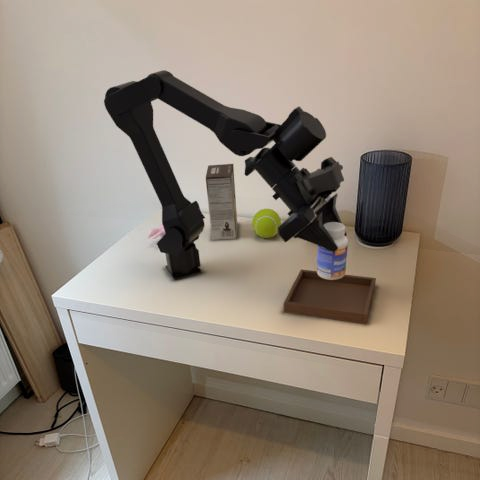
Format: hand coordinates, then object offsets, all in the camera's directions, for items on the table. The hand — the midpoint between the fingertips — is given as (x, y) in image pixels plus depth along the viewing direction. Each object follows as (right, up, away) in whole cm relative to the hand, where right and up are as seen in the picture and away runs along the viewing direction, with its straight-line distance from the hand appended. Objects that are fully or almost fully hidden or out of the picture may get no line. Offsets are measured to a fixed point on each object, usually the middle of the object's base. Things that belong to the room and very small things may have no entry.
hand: (340, 243), depth 88 cm
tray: (0, -10, +7) cm, 12 cm away
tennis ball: (-12, +7, +33) cm, 35 cm away
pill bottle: (-1, -5, +4) cm, 7 cm away
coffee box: (-22, +8, +36) cm, 43 cm away
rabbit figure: (-36, +7, +36) cm, 52 cm away
